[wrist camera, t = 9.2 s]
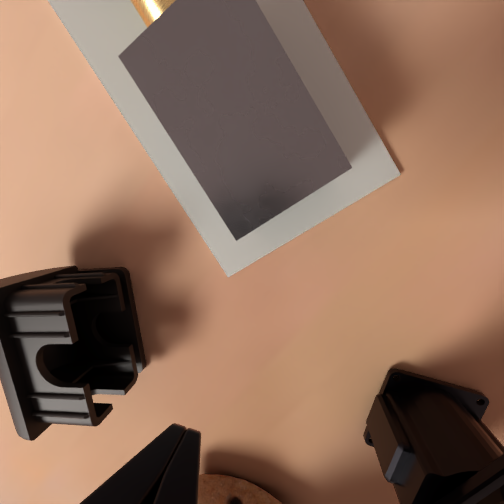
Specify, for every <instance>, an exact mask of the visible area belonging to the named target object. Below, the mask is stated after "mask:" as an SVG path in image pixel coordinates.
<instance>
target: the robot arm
mask: <svg viewBox="0 0 504 504" xmlns="http://www.w3.org/2000/svg"><path fill="white" fill-rule="evenodd" d="M395 375H398V377H396V378H393V377H394V376H395ZM478 399H480V400H479V401H477V400H478ZM488 405H489V400H488V398H487V397H486V396H485V395H484V394H483V393H481V392H479V391H475V390H471V389H468V388H464V387H461V386H457V385H453V384H450V383H446V382H443V381H439V380H436V379H432V378H428V377H425V376H421V375H418V374H414V373H411V372H407V371H403V370H400V369H395V368H394V369H390V370H389V371H388V373H387V375H386V378H385V380H384V383H383V385H382V388H381V390H380V393H379V394H378V395H376V397H375V400H374V403H373V405H372V408H371V410H370V413H369V415H368V418H367V421H366V424H367V426H366V429H365V432H364V435H363V436H364V439H365V442H366V443H367V444H368V445H370V446H372V447H374V448H375V451H376V454H377V457H378V460H379V463H380V466H381V469H382V472H383V475H384V477H385V478H386V480H387V481H388V482H390V483H393V485H394V488H395V491H396V494H397V496H398V499H399V502H400V504H504V446H503V445H502V444H501V443H500V442H499V441H498V440H497V438H496V437H495V436H494V435H493V434H492V433H491V431H490V430H489V429H488V428H487V427H486V426H485V424H484V423H483V422H482V421H481V418H482V416H483V414H484V412H485V410H486V408H487V406H488ZM200 446H201V433H200V431H197V430H194V429H191V428H188V429H186V427H185V426H182V425H179V424H175V423H174V424H172V425H170V426H169V427H168V428H167V429H166V430H165V431H163V432H162V433H161V434H160V435H159V436H158V437H156V438H155V439H154V440H153V441H152V442H151V443H149V444H148V445H147V446H146V447H145V448H144V449H143V450H141V451H140V452H139V453H138V454H137V455H136V456H134V457H133V458H132V459H131V460H130V461H129V462H127V463H126V464H125V465H124V466H123V467H122V468H120V469H119V470H118V471H117V472H116V473H115V474H113V475H112V476H111V477H110V478H109V479H108V480H107V481H105V482H104V483H103V484H102V485H101V486H100V487H98V488H97V489H96V490H95V491H94V492H93V493H91V494H90V495H89V496H88V497H87V498H86V499H84V500H83V501H82V502H81V503H80V504H198V489H199V468H200Z"/></svg>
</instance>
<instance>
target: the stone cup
mask: <svg viewBox="0 0 504 504" xmlns="http://www.w3.org/2000/svg"><path fill="white" fill-rule="evenodd" d="M198 504H282V503H281V502H280V501H278V500H277V499H276V498H274V497H273V496H272V495H270V494H269V493H268V492H266V491H264V490H263V489H261V488H259V487H257V486H256V485H254V484H253V483H250V482H248V481H246V480H244V479H239V478H234V477H232V476H224V475H218V474H211V475H209V474H202V475H199V489H198Z"/></svg>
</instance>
